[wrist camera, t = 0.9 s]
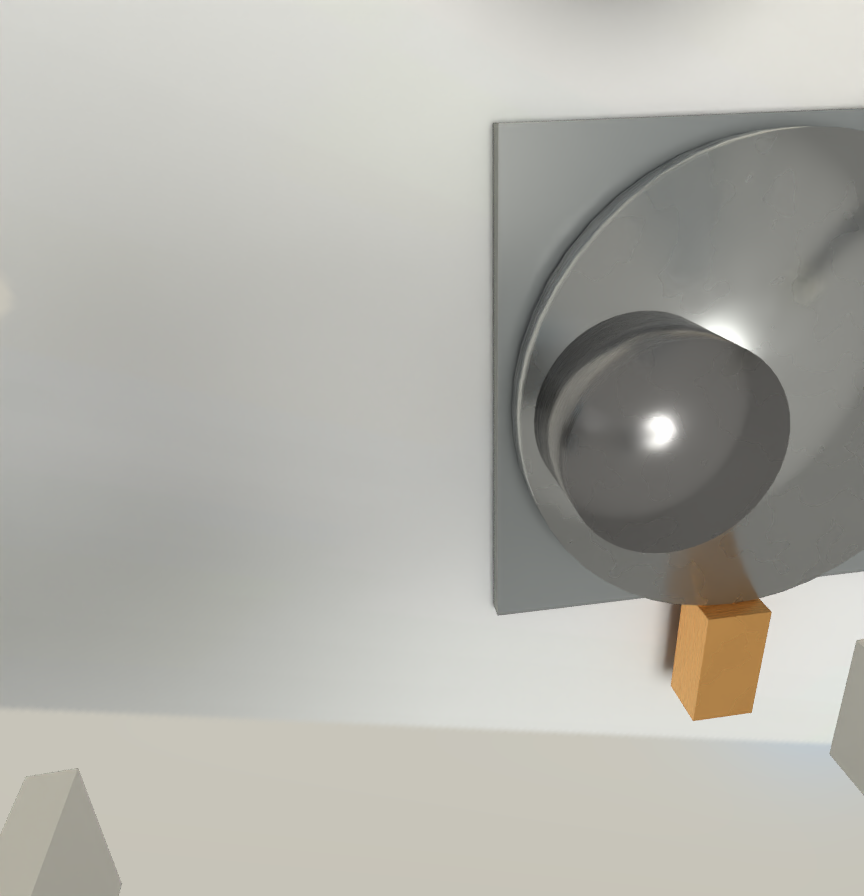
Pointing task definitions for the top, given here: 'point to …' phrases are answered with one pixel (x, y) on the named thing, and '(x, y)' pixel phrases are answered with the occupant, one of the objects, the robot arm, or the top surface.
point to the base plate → (525, 276)
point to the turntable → (752, 327)
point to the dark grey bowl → (660, 430)
